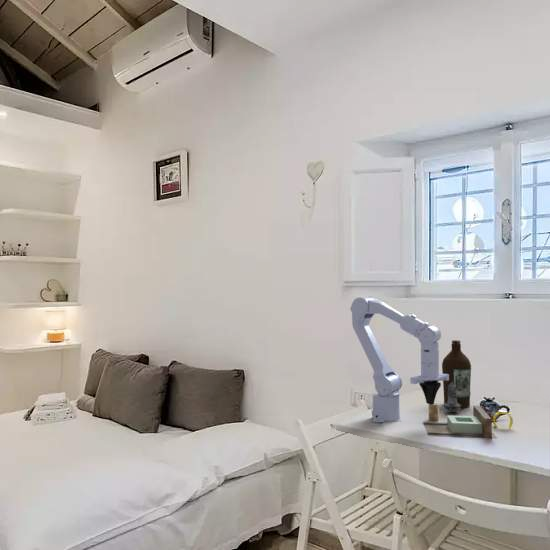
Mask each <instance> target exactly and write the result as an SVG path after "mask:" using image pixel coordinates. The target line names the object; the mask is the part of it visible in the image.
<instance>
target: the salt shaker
mask: <svg viewBox="0 0 550 550" xmlns="http://www.w3.org/2000/svg"><path fill="white" fill-rule="evenodd" d="M447 395H448V402H447V403H445V404H444V403H443V406H444V408H445V410H446V412H445V414H447V415H449V414H451V415H459V414H460V413H459V411H460V410H461V408H460V406H461V405H460V404H458V403H457V395H458V394H456V385H455V384H453V382H451V384H449V385H448V393H447Z"/></svg>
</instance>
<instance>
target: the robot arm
mask: <svg viewBox="0 0 550 550" xmlns="http://www.w3.org/2000/svg"><path fill="white" fill-rule="evenodd" d="M349 310H350V311H351V320H352V321H351V322H352V324H351V325H352V329H353V330H354V333H355V334H356V336H357V338H358V340H359V342H360V345H361V347H362V349H363V351H364V352H365V355H366V357H367V359H368V362H369V363H370V365H371V368H372V369H373V373H372V374H373V376H372V379H373V380H374V389H375V391H376V392H377V394H376V393H375V394H372V410H371V417H372V421H373V423H385V422H391V423H392V422H394V423H396V422H397V423H398V422H400V423H401V417H400V390H401V388H402V386H403V380H402V378H401V377H400V375H398V373H396V371H395V369H394V368H393V367H392V366H390V365H389V364H388V362H387V360H386V358H385V355H384V353H383V351H382V349H381V347H380V346H379V343H378V341H377V339H376V337H375V336H374V332H373V331H372V330H371V327H370V322H371V319H372V318H373V317H374V316H375V314H379V315H382V316H383V317H384V318H386V319H389V320H391V321H393V322H395V323H398V324H399V327H400V329H401V330H402V331H404V332H406V333H408V334H409V335H411V336H413V337H415V338H416V339H417V340H418V342H419V343H420V375H415V376H410V380H409V382H410V384H412V385H417V384H419V386H420V388H421V391H422V392H423V395H424V398H425V402H426V404H428V405H429V404H430V405H431V404H434V403H435V401H436V400H435V399H436V398H437V397H436V396H437V393H438V391H439V390H440V388H441V386H442V383H441V381H442V382H443V380H446V381H448V380H449V375H448V374H443V373H440V362H439V360H440V356H439V355H440V354H439V353H440V352H439V351H440V350H439V341H440V340H441V337H442V334H441V333H442V332H441V330H440V329H439V328H438V327H437V326H436V325H429V322H424V321H422V320H421V319H419V318H417V315H415V314H405V315H404V314H402V312H399V311H398V310H396V309H394V308H393V307H391V306H390V305H388V304H387V303H386V302H383V301H382V300H380V299H377V298H375V297H374V296H367V297H357V298H355V299H353V301H352V303H351V305H350V308H349Z"/></svg>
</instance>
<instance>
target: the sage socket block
mask: <svg viewBox="0 0 550 550" xmlns="http://www.w3.org/2000/svg"><path fill="white" fill-rule="evenodd" d="M446 419H447V420H446V423H447V425H446V426H448V427H449V429H450V431H451V432H452V433H478V434H482V423H481V422H480V421H479V420H478V418H477V417H476V416H473V415H449V414H447V415H446Z"/></svg>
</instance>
